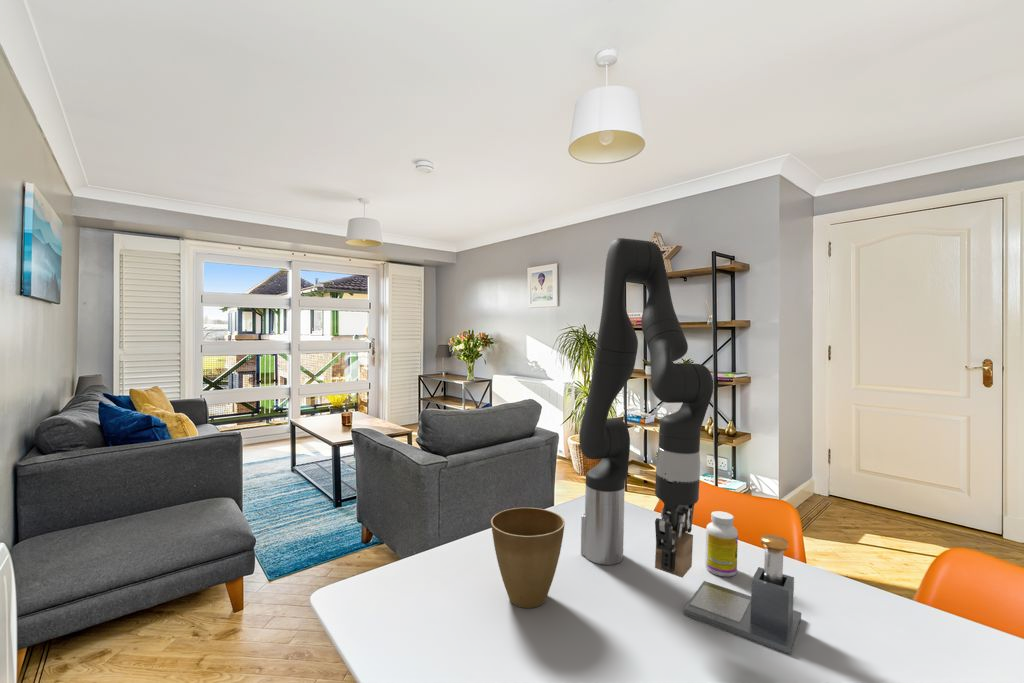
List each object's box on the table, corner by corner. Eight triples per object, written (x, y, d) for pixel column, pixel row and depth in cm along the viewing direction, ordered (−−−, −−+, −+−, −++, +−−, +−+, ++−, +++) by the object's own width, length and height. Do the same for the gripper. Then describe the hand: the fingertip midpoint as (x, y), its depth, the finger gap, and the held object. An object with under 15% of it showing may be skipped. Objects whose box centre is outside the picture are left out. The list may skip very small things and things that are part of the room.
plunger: (756, 599, 89) (758, 540, 88) (761, 588, 92) (763, 532, 92) (783, 607, 86) (786, 547, 86) (787, 597, 89) (789, 538, 89)
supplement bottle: (740, 579, 106) (742, 522, 105) (708, 576, 107) (710, 519, 107) (732, 564, 112) (734, 510, 112) (702, 561, 114) (704, 508, 113)
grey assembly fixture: (683, 614, 93) (685, 567, 92) (703, 586, 103) (705, 544, 103) (790, 655, 82) (792, 602, 81) (801, 618, 92) (802, 571, 92)
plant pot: (572, 588, 101) (574, 513, 101) (547, 628, 88) (549, 542, 87) (509, 572, 108) (510, 501, 107) (476, 607, 94) (477, 526, 94)
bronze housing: (654, 567, 88) (656, 536, 87) (665, 557, 92) (666, 526, 91) (682, 577, 85) (683, 544, 84) (691, 566, 89) (693, 534, 88)
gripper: (671, 459, 95) (667, 543, 96) (641, 478, 84) (637, 572, 85) (710, 468, 90) (706, 555, 91) (685, 488, 79) (680, 588, 80)
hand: (673, 563), depth 88 cm, fingers closed on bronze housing, 5 cm apart
